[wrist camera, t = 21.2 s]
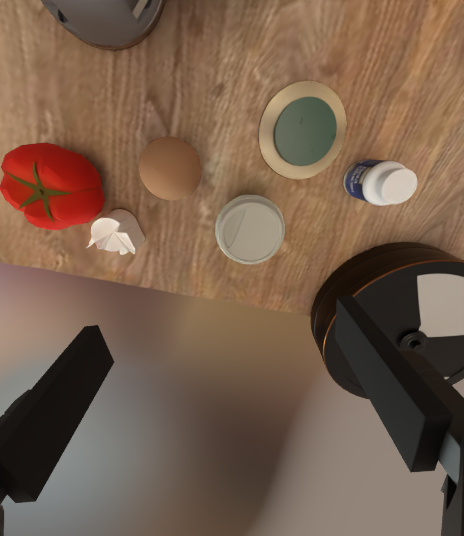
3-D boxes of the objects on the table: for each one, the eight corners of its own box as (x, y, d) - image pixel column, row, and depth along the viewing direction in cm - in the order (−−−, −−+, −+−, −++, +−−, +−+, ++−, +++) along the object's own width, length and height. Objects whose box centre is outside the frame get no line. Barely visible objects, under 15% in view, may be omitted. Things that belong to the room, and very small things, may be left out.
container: (290, 348, 39) (279, 311, 48) (385, 430, 47) (361, 386, 56) (472, 221, 30) (418, 205, 39) (548, 349, 39) (490, 312, 48)
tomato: (34, 131, 35) (-27, 124, 27) (120, 164, 37) (88, 167, 28) (31, 204, 39) (-22, 217, 31) (109, 230, 41) (78, 250, 33)
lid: (331, 162, 36) (335, 162, 35) (274, 169, 36) (276, 169, 35) (334, 94, 33) (339, 91, 31) (271, 103, 33) (273, 100, 32)
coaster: (254, 90, 33) (254, 88, 32) (346, 74, 32) (349, 73, 32) (262, 184, 38) (262, 184, 37) (342, 172, 37) (344, 173, 37)
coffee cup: (252, 173, 37) (261, 180, 26) (282, 218, 40) (301, 242, 29) (207, 207, 39) (198, 227, 29) (239, 248, 42) (242, 281, 31)
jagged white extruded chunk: (109, 258, 43) (91, 276, 37) (84, 224, 40) (59, 238, 34) (149, 239, 42) (136, 256, 36) (126, 203, 39) (108, 214, 33)
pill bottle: (344, 161, 37) (380, 163, 28) (381, 158, 37) (429, 159, 28) (340, 198, 39) (372, 211, 30) (375, 195, 39) (418, 208, 30)
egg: (156, 193, 39) (130, 207, 29) (150, 138, 35) (118, 132, 26) (205, 194, 39) (196, 208, 29) (204, 139, 36) (193, 133, 26)
